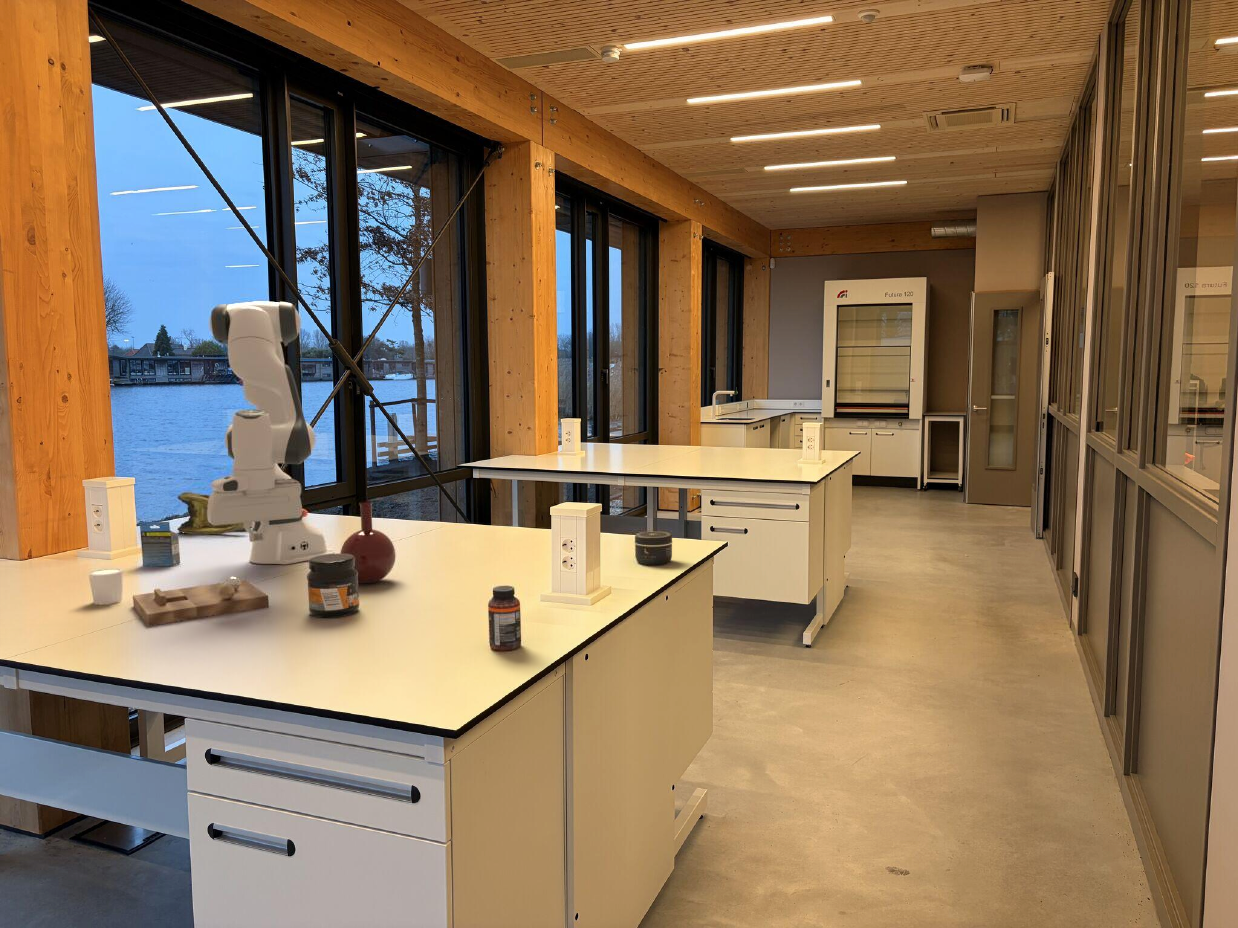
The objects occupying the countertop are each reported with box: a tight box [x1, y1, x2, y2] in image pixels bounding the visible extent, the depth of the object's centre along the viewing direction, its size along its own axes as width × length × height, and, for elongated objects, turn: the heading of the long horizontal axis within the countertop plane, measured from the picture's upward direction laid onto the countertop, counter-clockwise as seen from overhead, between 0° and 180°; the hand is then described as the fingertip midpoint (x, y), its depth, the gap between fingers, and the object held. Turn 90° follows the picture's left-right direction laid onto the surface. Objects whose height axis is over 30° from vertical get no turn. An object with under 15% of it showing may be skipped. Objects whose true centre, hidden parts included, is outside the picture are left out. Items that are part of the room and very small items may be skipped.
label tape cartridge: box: [139, 521, 181, 567], centre depth 244 cm, size 9×4×12 cm, turn 84°
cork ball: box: [219, 585, 235, 600], centre depth 196 cm, size 3×3×3 cm
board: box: [132, 579, 270, 627], centre depth 200 cm, size 24×20×4 cm
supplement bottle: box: [487, 585, 522, 652], centre depth 167 cm, size 6×6×11 cm
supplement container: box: [306, 553, 360, 619], centre depth 193 cm, size 10×10×12 cm
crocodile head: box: [177, 491, 252, 535], centre depth 294 cm, size 27×17×15 cm
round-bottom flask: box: [339, 500, 397, 584], centre depth 220 cm, size 13×13×20 cm
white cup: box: [88, 568, 124, 606], centre depth 206 cm, size 7×7×7 cm
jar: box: [634, 530, 673, 567], centre depth 238 cm, size 10×10×8 cm
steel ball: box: [225, 576, 241, 590], centre depth 204 cm, size 3×3×3 cm
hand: (257, 540), depth 206 cm, fingers closed
